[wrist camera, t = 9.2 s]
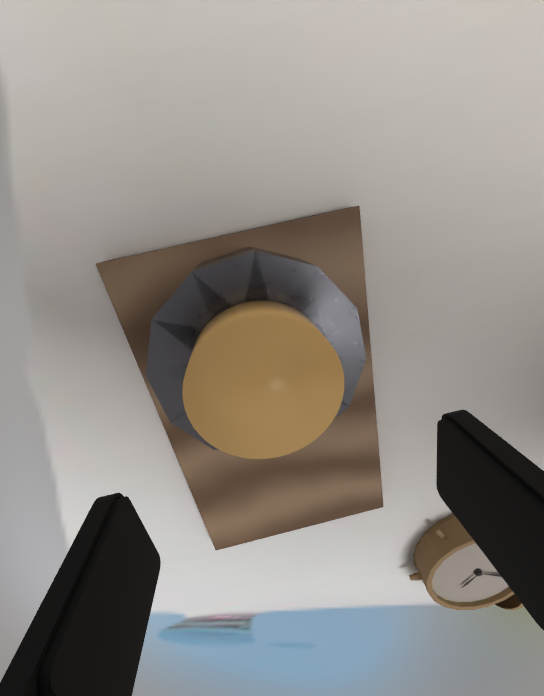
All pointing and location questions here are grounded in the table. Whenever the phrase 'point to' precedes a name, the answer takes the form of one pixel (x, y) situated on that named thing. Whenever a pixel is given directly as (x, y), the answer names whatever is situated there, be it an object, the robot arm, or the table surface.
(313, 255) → the mount
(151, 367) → the grey faceted ring
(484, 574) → the alarm clock
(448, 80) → the table surface
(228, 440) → the cap
